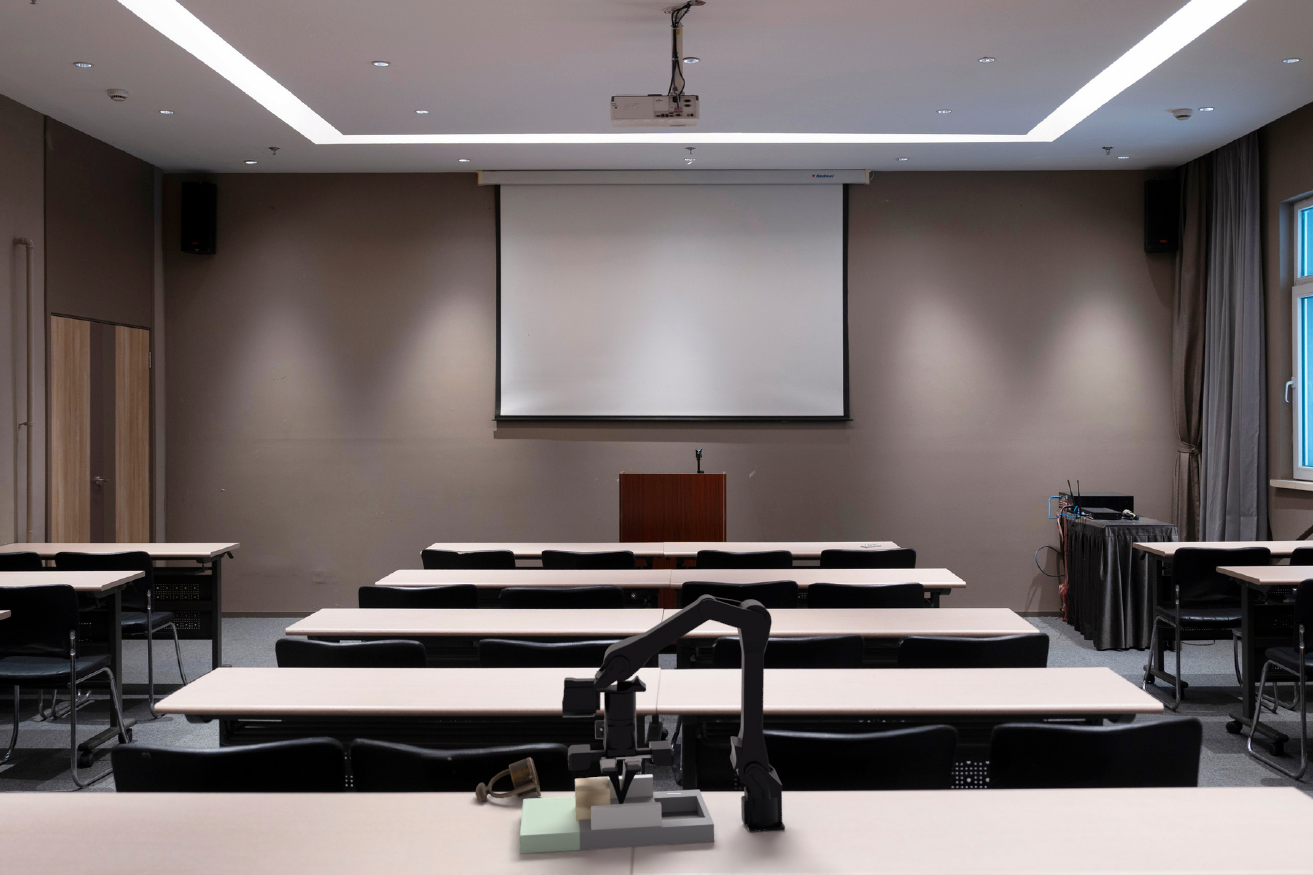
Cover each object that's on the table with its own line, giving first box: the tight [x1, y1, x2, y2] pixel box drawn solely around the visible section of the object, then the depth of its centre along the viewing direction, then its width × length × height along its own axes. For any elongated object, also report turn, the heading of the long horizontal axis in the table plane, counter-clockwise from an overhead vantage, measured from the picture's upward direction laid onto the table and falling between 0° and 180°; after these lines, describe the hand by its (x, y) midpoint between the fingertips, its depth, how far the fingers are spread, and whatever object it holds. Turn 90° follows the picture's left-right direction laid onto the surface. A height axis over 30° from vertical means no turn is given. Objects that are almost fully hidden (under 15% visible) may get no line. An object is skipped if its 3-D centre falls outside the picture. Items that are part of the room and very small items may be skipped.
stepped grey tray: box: [519, 773, 715, 855], centre depth 159 cm, size 33×16×6 cm, turn 96°
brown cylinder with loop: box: [475, 756, 542, 802], centre depth 175 cm, size 7×13×10 cm
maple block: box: [574, 776, 610, 820], centre depth 159 cm, size 6×6×5 cm
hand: (621, 803), depth 159 cm, fingers closed
